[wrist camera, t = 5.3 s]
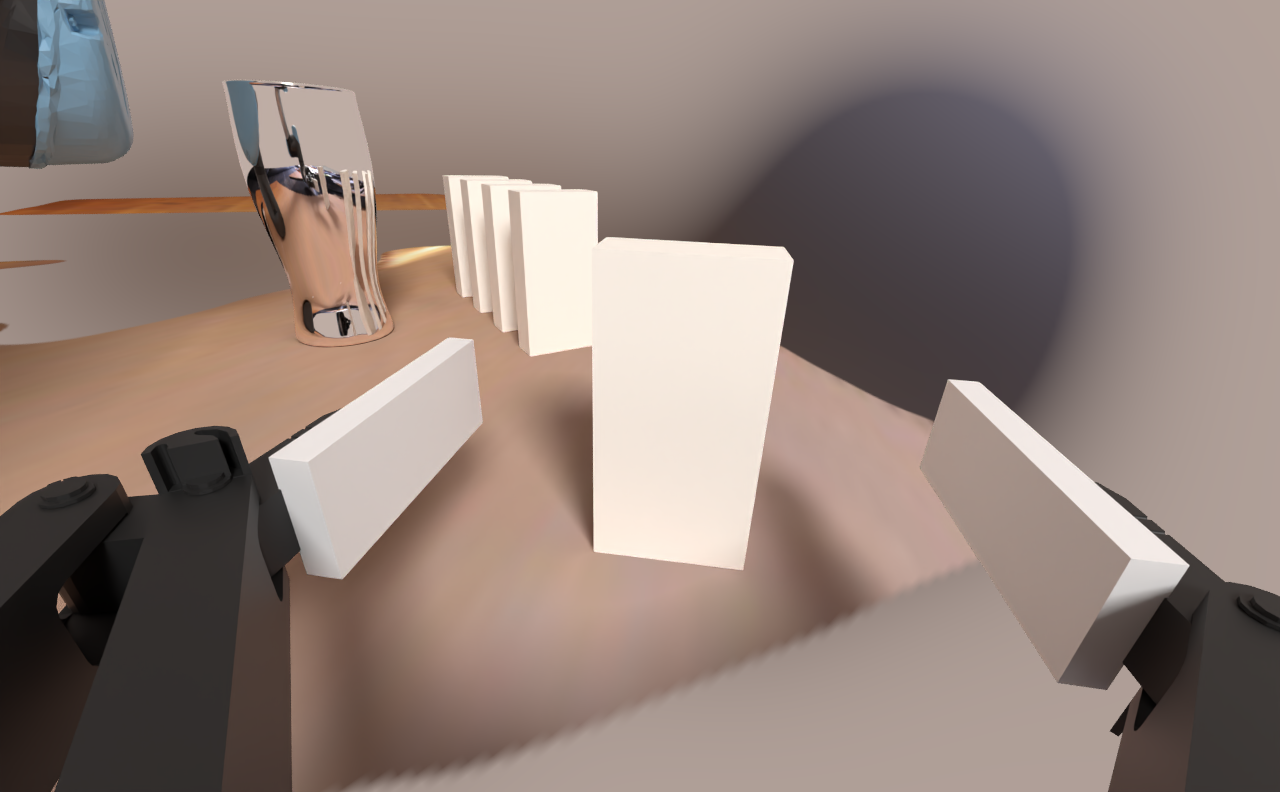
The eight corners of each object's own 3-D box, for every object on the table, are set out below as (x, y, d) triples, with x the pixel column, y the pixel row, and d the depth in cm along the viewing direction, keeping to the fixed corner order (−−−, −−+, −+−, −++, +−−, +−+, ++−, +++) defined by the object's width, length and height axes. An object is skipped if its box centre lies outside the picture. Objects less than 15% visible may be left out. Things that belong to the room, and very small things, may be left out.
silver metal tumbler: (278, 329, 36) (208, 84, 30) (381, 313, 40) (339, 96, 34) (303, 357, 32) (227, 75, 25) (415, 335, 36) (375, 90, 30)
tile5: (516, 291, 48) (508, 177, 44) (462, 297, 46) (448, 176, 41) (509, 287, 50) (500, 175, 45) (457, 292, 47) (442, 175, 43)
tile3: (564, 323, 40) (560, 185, 35) (502, 332, 37) (490, 185, 33) (554, 316, 41) (549, 183, 37) (494, 324, 39) (480, 183, 34)
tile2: (597, 344, 36) (597, 191, 31) (529, 356, 33) (519, 192, 29) (585, 336, 37) (582, 189, 33) (519, 347, 35) (507, 189, 30)
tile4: (538, 306, 44) (531, 180, 40) (480, 313, 41) (467, 180, 37) (529, 300, 45) (522, 179, 41) (473, 307, 43) (459, 178, 39)
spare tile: (743, 570, 17) (793, 260, 12) (593, 551, 17) (591, 248, 13) (740, 530, 18) (783, 247, 14) (605, 514, 19) (607, 237, 15)
